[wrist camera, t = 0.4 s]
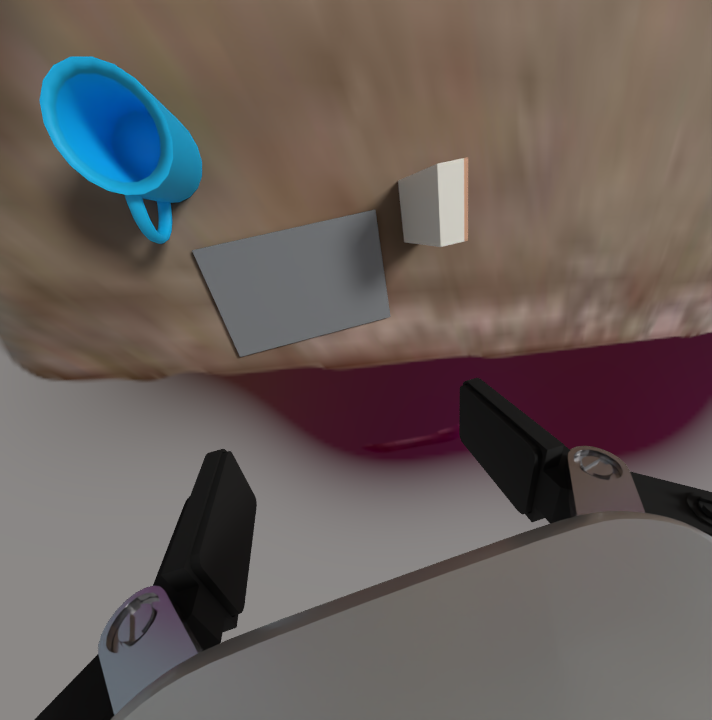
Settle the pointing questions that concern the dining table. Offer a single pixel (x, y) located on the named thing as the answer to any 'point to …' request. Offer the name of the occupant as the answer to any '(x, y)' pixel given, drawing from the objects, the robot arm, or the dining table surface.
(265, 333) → the mat
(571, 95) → the dining table surface
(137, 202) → the mug
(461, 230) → the white rectangular block
